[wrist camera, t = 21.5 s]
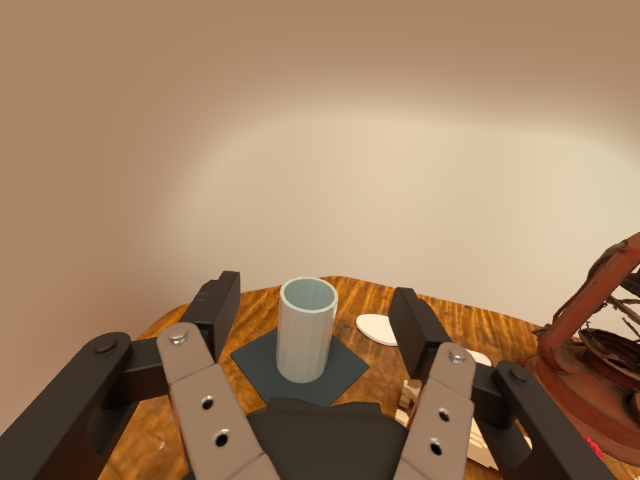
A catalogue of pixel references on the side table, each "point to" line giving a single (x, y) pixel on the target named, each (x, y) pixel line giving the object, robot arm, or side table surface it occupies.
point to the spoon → (382, 333)
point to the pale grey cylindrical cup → (305, 328)
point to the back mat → (269, 382)
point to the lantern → (596, 358)
